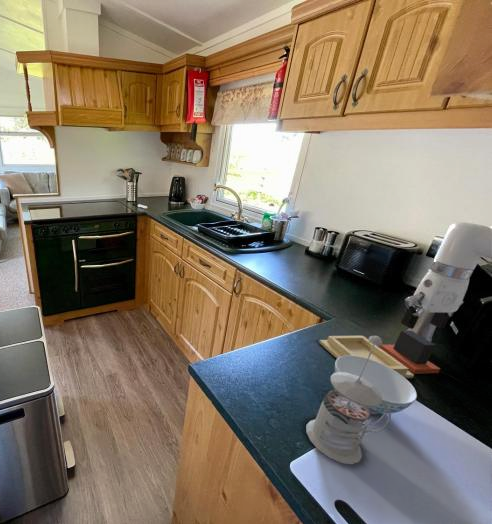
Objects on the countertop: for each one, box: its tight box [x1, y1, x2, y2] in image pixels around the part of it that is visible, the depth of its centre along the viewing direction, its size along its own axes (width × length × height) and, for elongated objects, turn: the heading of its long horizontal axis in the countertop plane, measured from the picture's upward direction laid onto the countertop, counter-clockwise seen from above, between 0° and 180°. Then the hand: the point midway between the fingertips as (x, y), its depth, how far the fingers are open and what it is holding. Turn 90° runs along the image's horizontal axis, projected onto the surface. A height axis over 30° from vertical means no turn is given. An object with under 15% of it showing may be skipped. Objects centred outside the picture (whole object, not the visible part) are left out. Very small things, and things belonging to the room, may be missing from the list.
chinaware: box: [334, 355, 418, 415], centre depth 67 cm, size 15×15×8 cm
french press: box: [305, 335, 392, 465], centre depth 54 cm, size 10×12×25 cm
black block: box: [378, 330, 441, 375], centre depth 84 cm, size 8×11×8 cm
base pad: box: [318, 335, 415, 379], centre depth 84 cm, size 16×16×3 cm
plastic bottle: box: [406, 305, 437, 343], centre depth 89 cm, size 6×7×20 cm
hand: (421, 326), depth 81 cm, fingers open, 9 cm apart
